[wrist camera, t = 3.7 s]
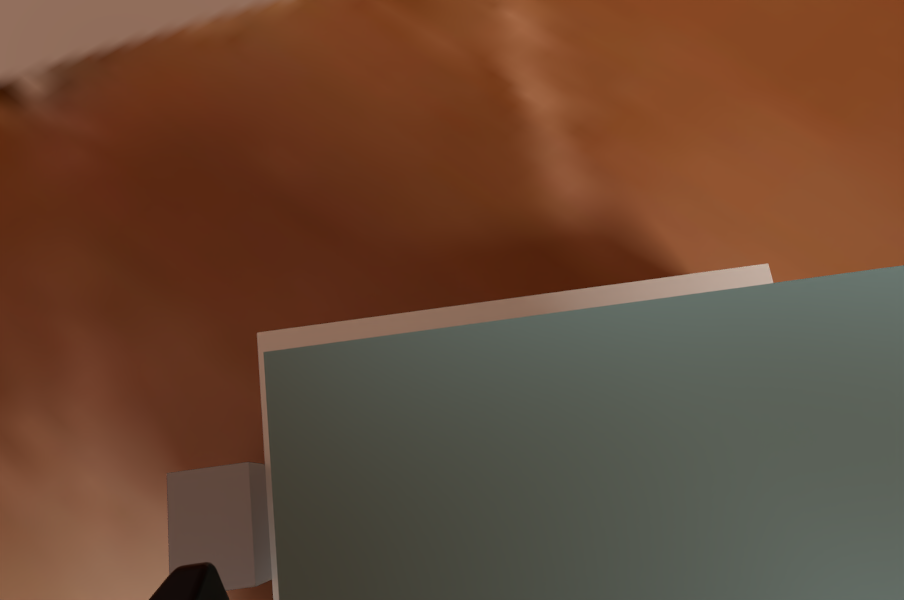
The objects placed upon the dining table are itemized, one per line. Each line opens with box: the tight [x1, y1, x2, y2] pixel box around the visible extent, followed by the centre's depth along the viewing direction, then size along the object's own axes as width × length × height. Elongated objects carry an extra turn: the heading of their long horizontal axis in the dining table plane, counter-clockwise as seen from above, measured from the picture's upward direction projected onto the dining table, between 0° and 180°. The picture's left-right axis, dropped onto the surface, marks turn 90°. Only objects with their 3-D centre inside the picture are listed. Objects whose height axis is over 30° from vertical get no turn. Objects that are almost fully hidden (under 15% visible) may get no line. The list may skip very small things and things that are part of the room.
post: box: [263, 265, 904, 600], centre depth 10 cm, size 5×5×12 cm
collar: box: [167, 264, 773, 600], centre depth 13 cm, size 10×11×4 cm
